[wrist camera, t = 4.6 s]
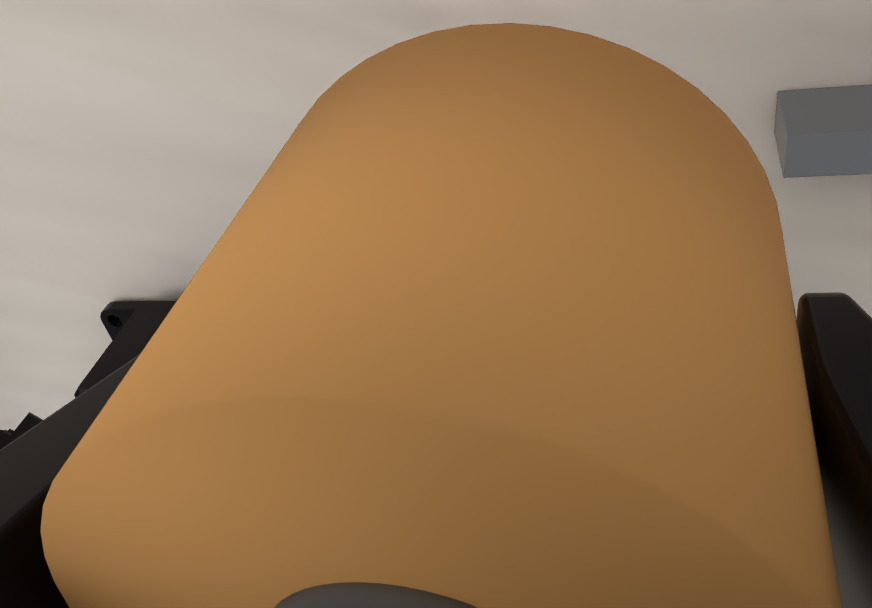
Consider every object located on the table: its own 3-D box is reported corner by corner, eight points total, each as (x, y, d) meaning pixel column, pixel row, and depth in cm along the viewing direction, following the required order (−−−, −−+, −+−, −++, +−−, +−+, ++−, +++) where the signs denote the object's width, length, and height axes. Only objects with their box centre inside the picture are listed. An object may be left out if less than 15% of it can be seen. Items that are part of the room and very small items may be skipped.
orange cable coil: (769, 441, 11) (815, 898, 7) (347, 427, 13) (207, 788, 9) (802, -14, 7) (939, 435, 3) (202, 55, 9) (-144, 404, 5)
